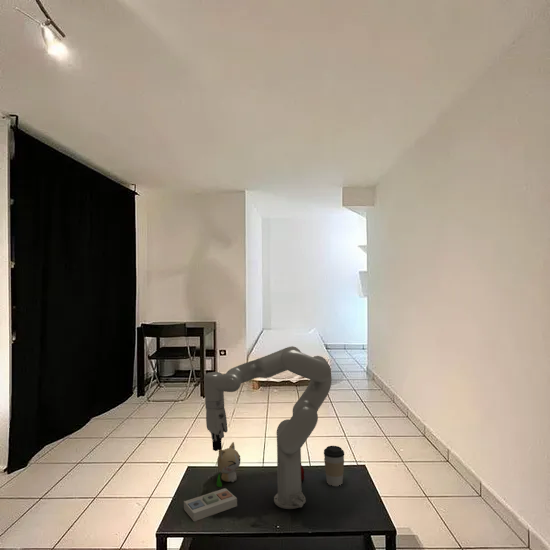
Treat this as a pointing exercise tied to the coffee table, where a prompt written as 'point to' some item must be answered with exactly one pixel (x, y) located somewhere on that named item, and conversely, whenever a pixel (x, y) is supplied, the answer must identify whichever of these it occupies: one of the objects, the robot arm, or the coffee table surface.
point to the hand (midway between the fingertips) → (217, 449)
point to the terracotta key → (224, 495)
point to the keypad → (210, 506)
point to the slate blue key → (195, 504)
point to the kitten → (228, 464)
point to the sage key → (210, 498)
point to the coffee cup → (334, 465)
